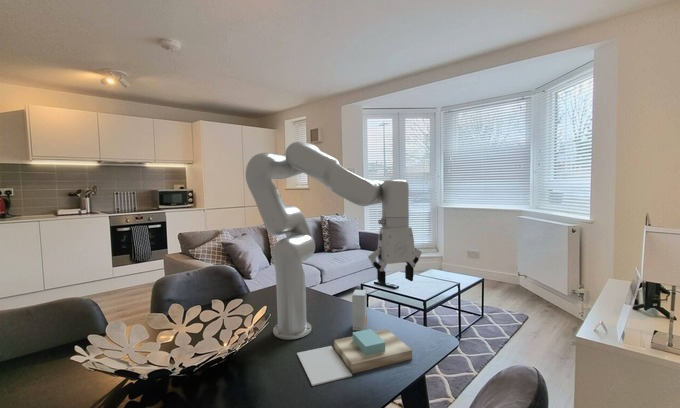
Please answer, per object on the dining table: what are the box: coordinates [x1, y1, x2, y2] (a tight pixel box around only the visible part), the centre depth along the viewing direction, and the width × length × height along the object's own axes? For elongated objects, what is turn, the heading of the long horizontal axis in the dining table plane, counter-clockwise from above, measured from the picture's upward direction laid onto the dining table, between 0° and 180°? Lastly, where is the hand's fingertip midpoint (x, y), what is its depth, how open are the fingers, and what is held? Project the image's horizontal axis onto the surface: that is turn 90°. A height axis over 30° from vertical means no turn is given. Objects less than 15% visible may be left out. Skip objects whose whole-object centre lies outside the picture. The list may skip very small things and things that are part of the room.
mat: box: [296, 345, 353, 387], centre depth 88 cm, size 16×10×1 cm, turn 21°
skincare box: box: [351, 289, 368, 331], centre depth 110 cm, size 6×4×12 cm
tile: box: [352, 328, 385, 355], centre depth 93 cm, size 9×6×2 cm, turn 21°
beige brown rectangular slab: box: [333, 329, 413, 375], centre depth 93 cm, size 14×18×2 cm
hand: (395, 281), depth 95 cm, fingers open, 8 cm apart
